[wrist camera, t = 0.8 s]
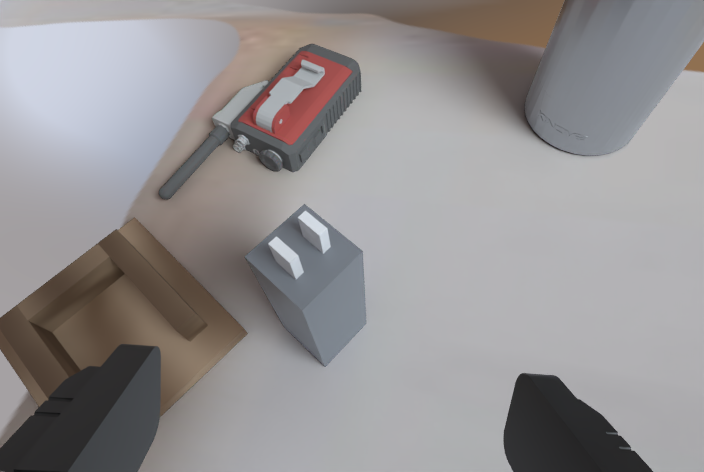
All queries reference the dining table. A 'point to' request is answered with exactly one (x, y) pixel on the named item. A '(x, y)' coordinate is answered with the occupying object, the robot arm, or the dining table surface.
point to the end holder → (118, 317)
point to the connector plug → (312, 282)
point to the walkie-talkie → (282, 113)
